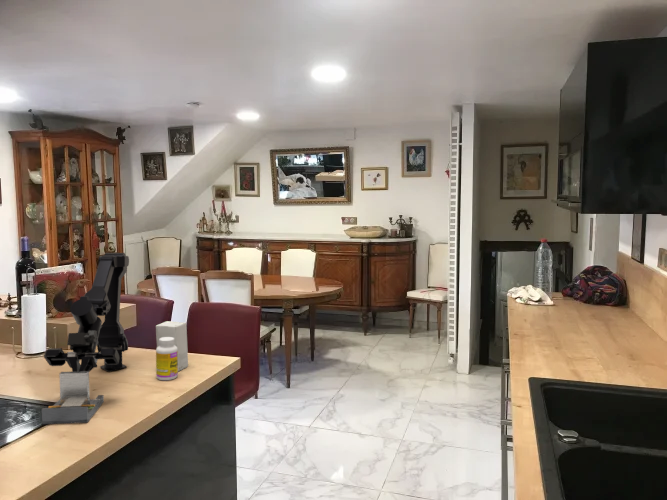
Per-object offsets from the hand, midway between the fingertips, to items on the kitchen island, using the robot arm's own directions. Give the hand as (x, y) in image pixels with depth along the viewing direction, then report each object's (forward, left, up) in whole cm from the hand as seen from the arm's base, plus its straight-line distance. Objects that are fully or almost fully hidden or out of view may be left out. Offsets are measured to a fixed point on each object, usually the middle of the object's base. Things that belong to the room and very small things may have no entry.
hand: (76, 384), depth 143 cm
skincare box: (-13, +37, -7) cm, 40 cm away
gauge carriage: (+2, -2, -6) cm, 7 cm away
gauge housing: (+2, -2, -7) cm, 8 cm away
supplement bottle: (-6, +31, -7) cm, 32 cm away
